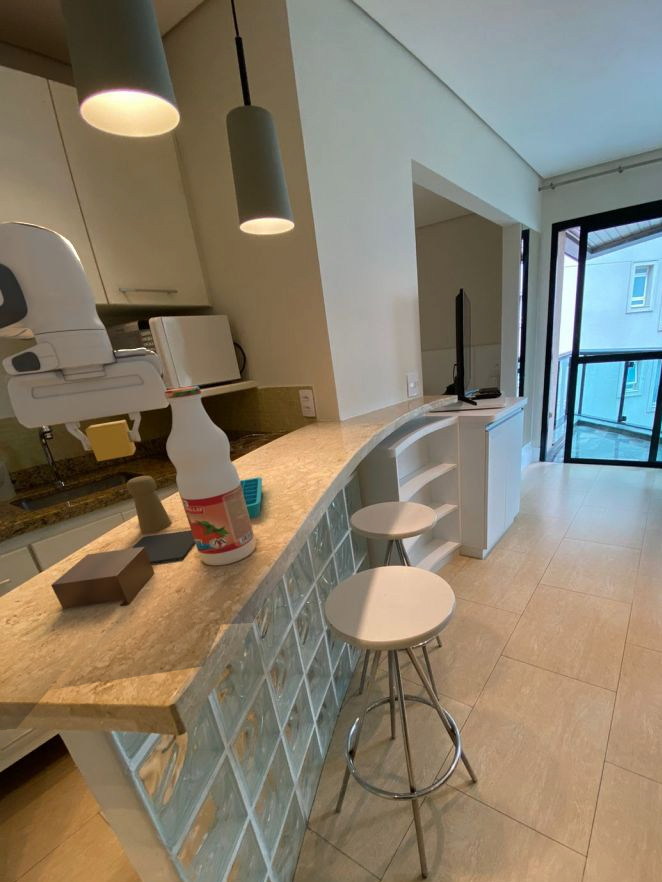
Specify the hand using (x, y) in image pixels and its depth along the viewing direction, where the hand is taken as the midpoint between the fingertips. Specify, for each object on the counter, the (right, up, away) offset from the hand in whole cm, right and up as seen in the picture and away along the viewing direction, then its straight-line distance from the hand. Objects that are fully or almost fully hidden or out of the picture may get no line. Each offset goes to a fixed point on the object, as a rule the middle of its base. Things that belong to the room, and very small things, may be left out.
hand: (113, 445), depth 66 cm
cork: (-5, -14, +21) cm, 26 cm away
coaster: (+2, -18, +10) cm, 21 cm away
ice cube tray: (+10, -10, +27) cm, 31 cm away
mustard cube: (0, -1, +1) cm, 2 cm away
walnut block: (+2, -23, -3) cm, 24 cm away
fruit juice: (+17, -18, +6) cm, 25 cm away
